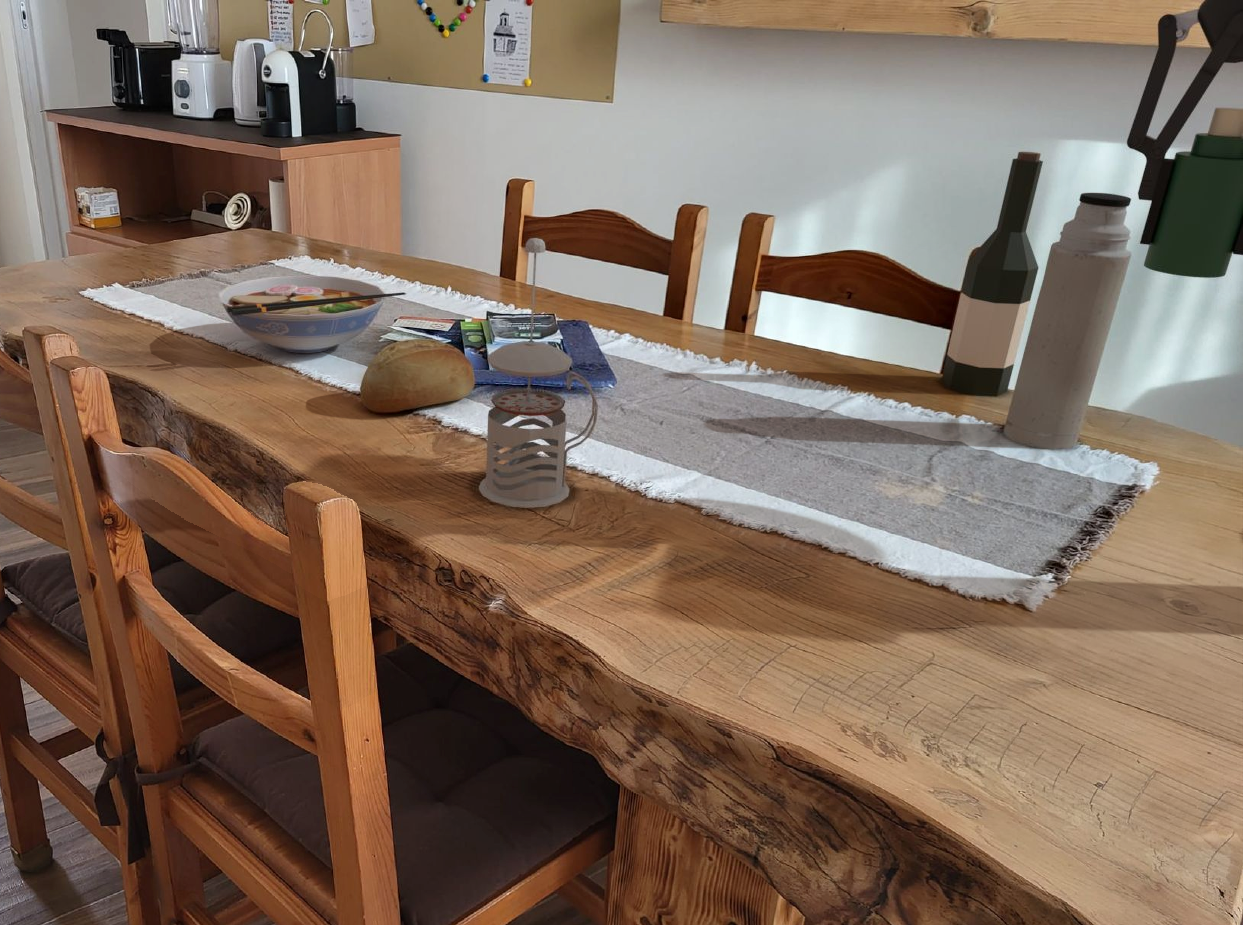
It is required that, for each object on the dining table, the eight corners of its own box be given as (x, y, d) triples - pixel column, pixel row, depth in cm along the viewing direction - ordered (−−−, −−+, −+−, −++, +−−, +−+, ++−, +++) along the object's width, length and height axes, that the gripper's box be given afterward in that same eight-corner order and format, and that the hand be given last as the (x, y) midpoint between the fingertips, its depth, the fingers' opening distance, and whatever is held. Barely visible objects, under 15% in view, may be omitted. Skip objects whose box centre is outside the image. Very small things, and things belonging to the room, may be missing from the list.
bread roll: (493, 407, 131) (495, 342, 127) (384, 427, 123) (383, 359, 120) (452, 385, 138) (453, 323, 135) (346, 403, 130) (344, 338, 127)
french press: (473, 472, 113) (479, 226, 101) (583, 473, 113) (601, 229, 102) (477, 512, 104) (484, 247, 93) (596, 512, 105) (617, 250, 94)
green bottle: (1224, 268, 91) (1276, 108, 85) (1225, 281, 86) (1280, 113, 81) (1145, 259, 94) (1189, 103, 88) (1141, 271, 89) (1188, 107, 83)
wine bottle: (942, 376, 150) (993, 146, 136) (1006, 385, 147) (1065, 152, 133) (938, 393, 143) (992, 153, 129) (1006, 403, 140) (1068, 159, 126)
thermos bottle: (1004, 423, 133) (1065, 186, 120) (1075, 435, 130) (1145, 193, 117) (1001, 444, 126) (1065, 195, 113) (1076, 457, 123) (1150, 203, 111)
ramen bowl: (353, 317, 166) (352, 263, 162) (422, 356, 149) (422, 297, 145) (192, 335, 154) (186, 278, 150) (247, 381, 136) (242, 317, 133)
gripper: (1141, -79, 80) (1061, 239, 90) (1461, -82, 72) (1332, 269, 82) (1145, -72, 86) (1069, 226, 96) (1441, -73, 78) (1324, 254, 88)
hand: (1191, 246), depth 89 cm, fingers closed on green bottle, 6 cm apart
